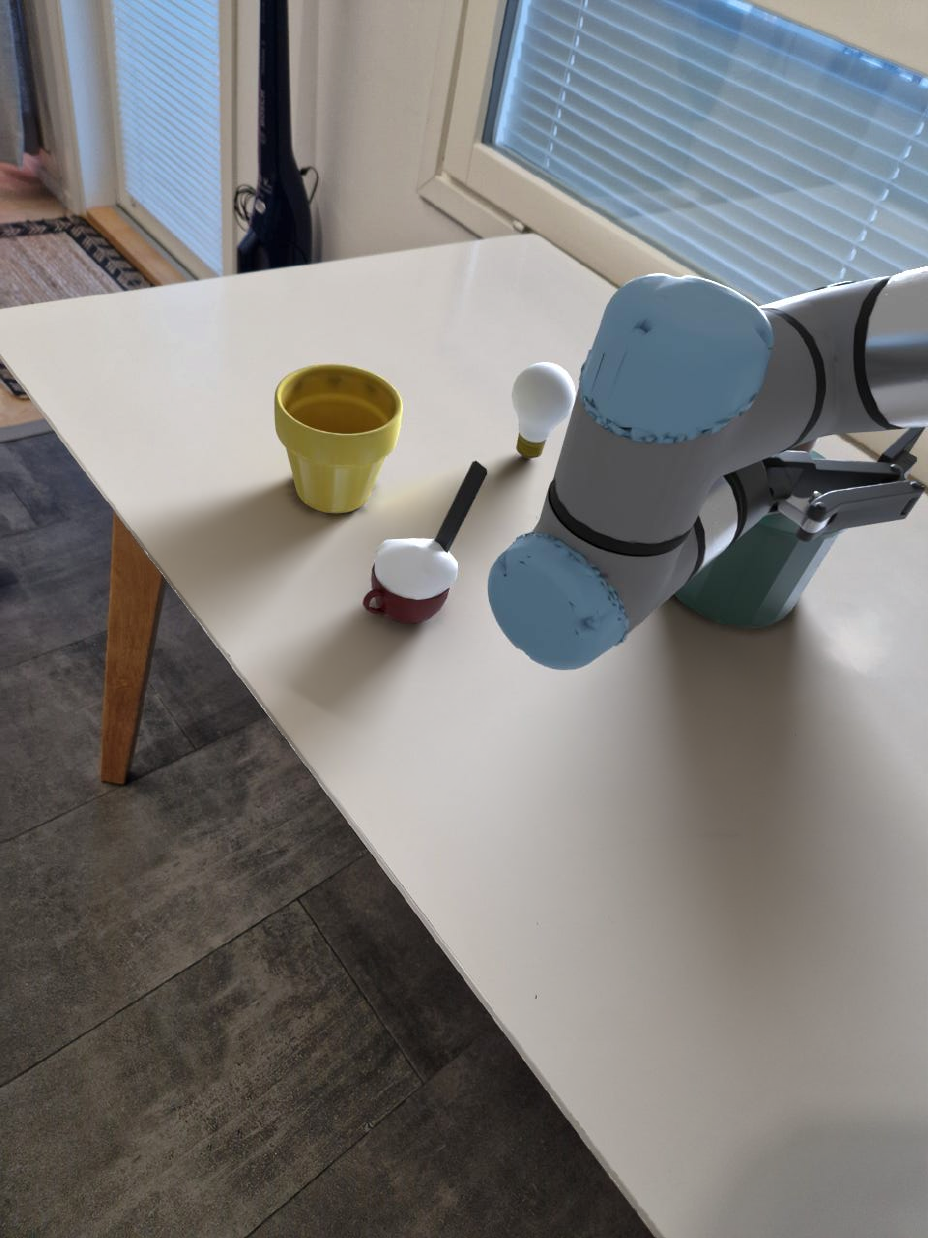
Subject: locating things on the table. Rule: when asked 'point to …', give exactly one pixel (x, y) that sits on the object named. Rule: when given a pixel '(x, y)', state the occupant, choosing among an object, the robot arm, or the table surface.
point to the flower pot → (336, 432)
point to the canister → (754, 579)
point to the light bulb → (540, 405)
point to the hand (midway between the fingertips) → (828, 395)
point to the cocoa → (421, 563)
